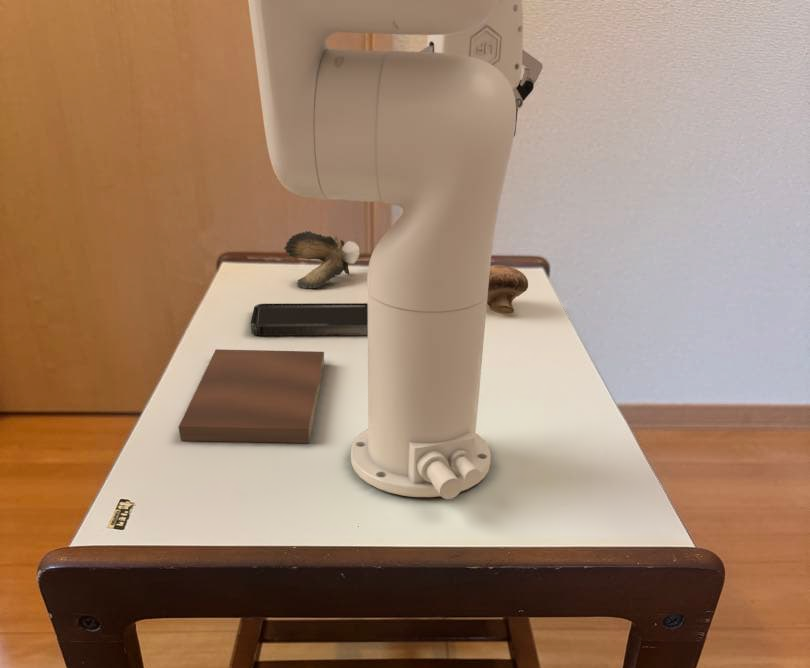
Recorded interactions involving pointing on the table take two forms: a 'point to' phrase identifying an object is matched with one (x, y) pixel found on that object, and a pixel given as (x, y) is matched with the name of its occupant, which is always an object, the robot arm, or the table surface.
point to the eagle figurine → (322, 256)
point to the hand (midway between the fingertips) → (467, 147)
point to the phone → (310, 319)
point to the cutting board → (255, 397)
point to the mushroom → (505, 287)
